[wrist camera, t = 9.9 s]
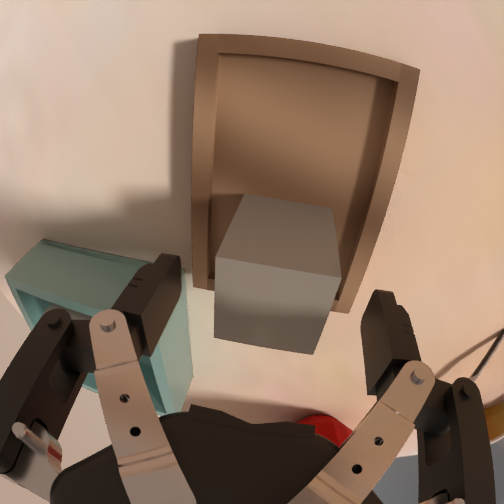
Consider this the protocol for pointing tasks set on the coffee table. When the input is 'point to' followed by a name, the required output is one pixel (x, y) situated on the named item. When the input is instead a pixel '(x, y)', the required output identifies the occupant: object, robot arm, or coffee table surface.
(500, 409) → the sunglasses
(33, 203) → the coffee table surface
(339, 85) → the tray
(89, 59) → the coffee table surface
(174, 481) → the robot arm
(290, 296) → the block
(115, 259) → the teal open box
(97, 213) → the coffee table surface
